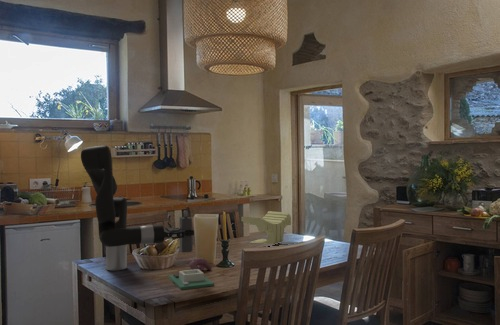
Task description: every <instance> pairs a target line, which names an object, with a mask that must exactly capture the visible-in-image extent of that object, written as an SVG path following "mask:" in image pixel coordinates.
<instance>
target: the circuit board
mask: <svg viewBox="0 0 500 325" xmlns="http://www.w3.org/2000/svg"><path fill="white" fill-rule="evenodd" d="M204 274H205V273H204V272H203V270H200V269H194V270H192V269H186V270H179V271H178V273H173V274H169V275H167V278H168V279H169V280H170V281H171V282H172V283H173V284H174V285H175V286H176V287H177V288H178V289H179V290H180V291H181V290H188V289H196V288H197V289H199V288H207V287H213V286H215V283H214V282H213V281H212V280H210V279H209V278H208V277H206V276H205V275H204Z"/></svg>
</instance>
